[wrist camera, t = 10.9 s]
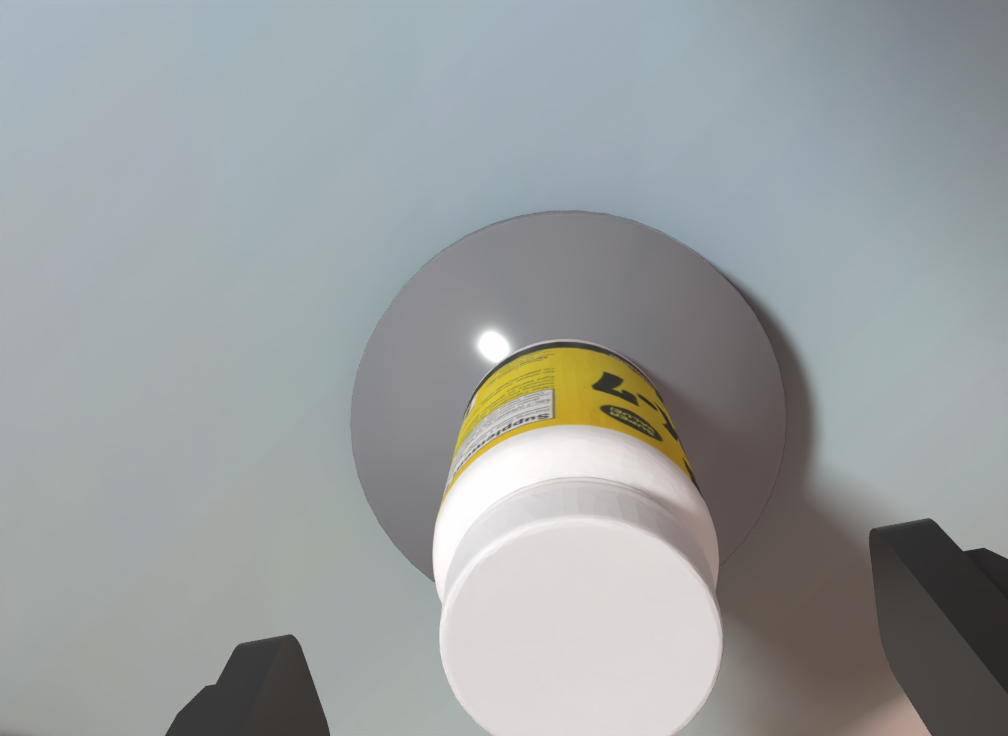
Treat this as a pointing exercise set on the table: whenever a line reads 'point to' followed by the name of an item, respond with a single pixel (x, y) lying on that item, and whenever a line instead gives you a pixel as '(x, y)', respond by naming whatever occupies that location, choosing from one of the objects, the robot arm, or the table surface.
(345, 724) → the table surface
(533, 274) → the dish low side
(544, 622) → the supplement bottle
